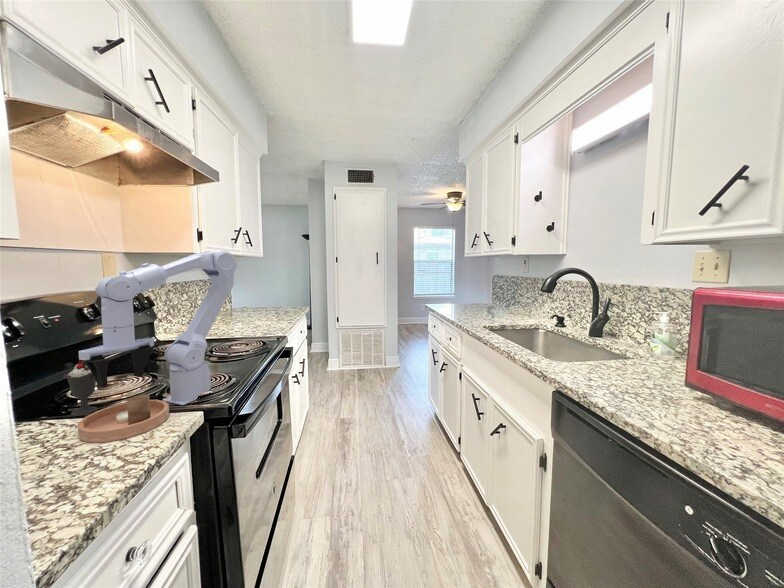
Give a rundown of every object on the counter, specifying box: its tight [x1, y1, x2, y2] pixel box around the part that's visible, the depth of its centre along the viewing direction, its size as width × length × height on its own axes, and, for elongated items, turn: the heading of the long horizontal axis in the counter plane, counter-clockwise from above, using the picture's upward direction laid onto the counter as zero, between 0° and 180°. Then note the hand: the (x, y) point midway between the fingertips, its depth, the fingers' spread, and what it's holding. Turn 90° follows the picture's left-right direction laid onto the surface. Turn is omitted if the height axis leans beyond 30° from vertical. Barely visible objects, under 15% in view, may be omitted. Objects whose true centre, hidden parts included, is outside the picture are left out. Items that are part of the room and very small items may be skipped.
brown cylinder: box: [126, 394, 151, 425], centre depth 71 cm, size 4×4×6 cm
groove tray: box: [77, 399, 170, 444], centre depth 73 cm, size 16×16×2 cm
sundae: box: [63, 359, 99, 417], centre depth 78 cm, size 7×7×15 cm
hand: (121, 381), depth 75 cm, fingers open, 7 cm apart
